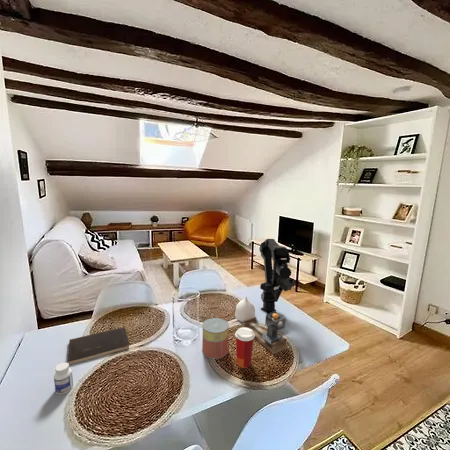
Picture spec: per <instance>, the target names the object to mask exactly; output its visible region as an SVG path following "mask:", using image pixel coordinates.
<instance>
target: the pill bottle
mask: <svg viewBox="0 0 450 450" xmlns="http://www.w3.org/2000/svg"><path fill="white" fill-rule="evenodd" d="M73 378H74V377H73V371H72V368H70V364H69V362H61V363H59V364H57V365H56V366H55V373H54V375H53V382H54V391H55V393H56V394H57V395H65V394H67V393H68V392H70V391H71V390H72V389H73V388H74V380H73Z"/></svg>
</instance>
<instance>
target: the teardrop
mask: <svg viewBox="0 0 450 450" xmlns="http://www.w3.org/2000/svg"><path fill="white" fill-rule="evenodd" d="M234 317H235V319H236V320H237V321H239V322H241V323H242V322H243V323H244V320H246V319H249V318H252V317H256V308H255V305H254V304H253V303H252V302H251V300H249V299H248V297H247V296H245V297H244V298H243V299H242V300H240V301H239V302H238V303H237V304H236V306H235V315H234Z"/></svg>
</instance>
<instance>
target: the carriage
mask: <svg viewBox="0 0 450 450" xmlns="http://www.w3.org/2000/svg"><path fill="white" fill-rule="evenodd" d="M266 327H267V329H266V331H267V333H265V334H263V335H262V337H263V338H264V340H265V341H266V342H267V343H269V344H270V345H271V346H272V345H273V343H274V342H277V341H279V340H282V339H283V337H282V336H281V335H279V334H278V331H279V330H278V328H277V327H276V326H275V325H273V324H272V325H269V326H266Z"/></svg>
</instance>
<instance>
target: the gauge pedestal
mask: <svg viewBox="0 0 450 450" xmlns="http://www.w3.org/2000/svg"><path fill="white" fill-rule="evenodd" d="M273 313H277V314H278V315H279V317H278V319H277V320H275V319H273V318H272V317H273ZM264 321H265V322H264V324H265V325H264V326H266V325H267V326H266V327H268V326H269V325H272V324H273V325H275V326H276V327H277V328H278V331H279V330H282V329H284V328H286V327H285V326H286V318H285V317H284V316H282V315H280V314H279V313H278V312H277V311H275V312H272V313H269V314H266V315H265V319H264Z"/></svg>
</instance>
